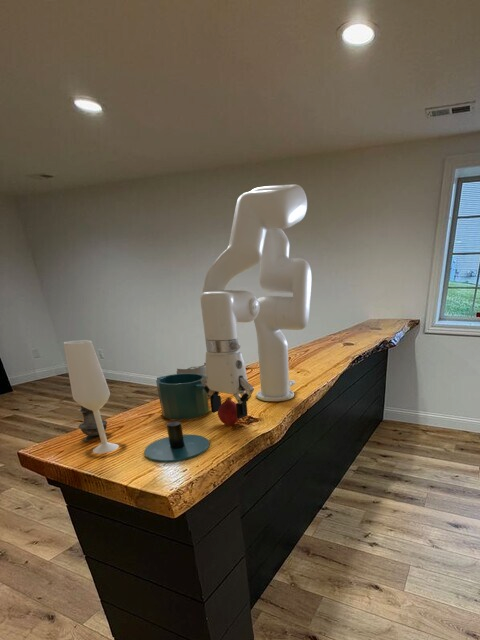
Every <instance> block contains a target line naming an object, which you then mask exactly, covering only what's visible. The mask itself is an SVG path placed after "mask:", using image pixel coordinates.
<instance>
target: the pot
mask: <svg viewBox="0 0 480 640" xmlns="http://www.w3.org/2000/svg"><path fill="white" fill-rule="evenodd" d="M204 377H205V376H203V375H201V374H194V373H183V374H177V373H174V374H168V375H163V376H159V377H156V387H157V393H158V399H159V403H160V408H161V409H160V410H161V414H162V416H163V417H164V418H165V419H168V420H174V421H182V420H191V419H192V420H193V419H196V418H200V417H202V416H203V417H204V416H205V415H207V414H209V412H210V405H209V397H208V396H207V392H206V391H205V389H204V386H203V384H202V383H201V379H203V378H204Z"/></svg>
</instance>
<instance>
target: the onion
mask: <svg viewBox="0 0 480 640" xmlns="http://www.w3.org/2000/svg"><path fill="white" fill-rule="evenodd" d="M236 404H237V403H236V402H235V401H233V400H232V398H231V397H230V396H228V397H226V399H225V401H223V402H221V406H220V407H219V410H218V411H217V417H218V419H219V420H220V422H221V423H222V424H224V425H226V426H228V427H229V426H230V427H231V426H234V425H236V424H237V423H238V422H239V421H240V419H239V418H237V409H236Z"/></svg>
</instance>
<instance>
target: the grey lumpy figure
mask: <svg viewBox="0 0 480 640" xmlns="http://www.w3.org/2000/svg"><path fill="white" fill-rule="evenodd" d="M80 408H81V409H80V410H79V412H81V413H82V416H83V423H80V424H79V425H78V429H80V431H81V432H82V433H83V434H84V435H85V437H84V438H83V441H84V442H89V441H91V440H94V439H98V438H100V436H99V432H98V428H97V425H96V421H95V417H94V414H93V411H92V410H89V409H87V408H85V407H83V406H81V405H80ZM102 423H103V427H104V430H105V431H106V430H107V427H108V425H107V424H108V421H107V420H105V419H102ZM105 434H106V435H108V433H107V432H105Z"/></svg>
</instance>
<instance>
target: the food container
mask: <svg viewBox="0 0 480 640" xmlns="http://www.w3.org/2000/svg"><path fill="white" fill-rule="evenodd" d="M183 373H194V374H201V375H203V376H206V362H204V363H203V365H199V366H190V367H188V368H176V374H183ZM207 396H208V393H207Z"/></svg>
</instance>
